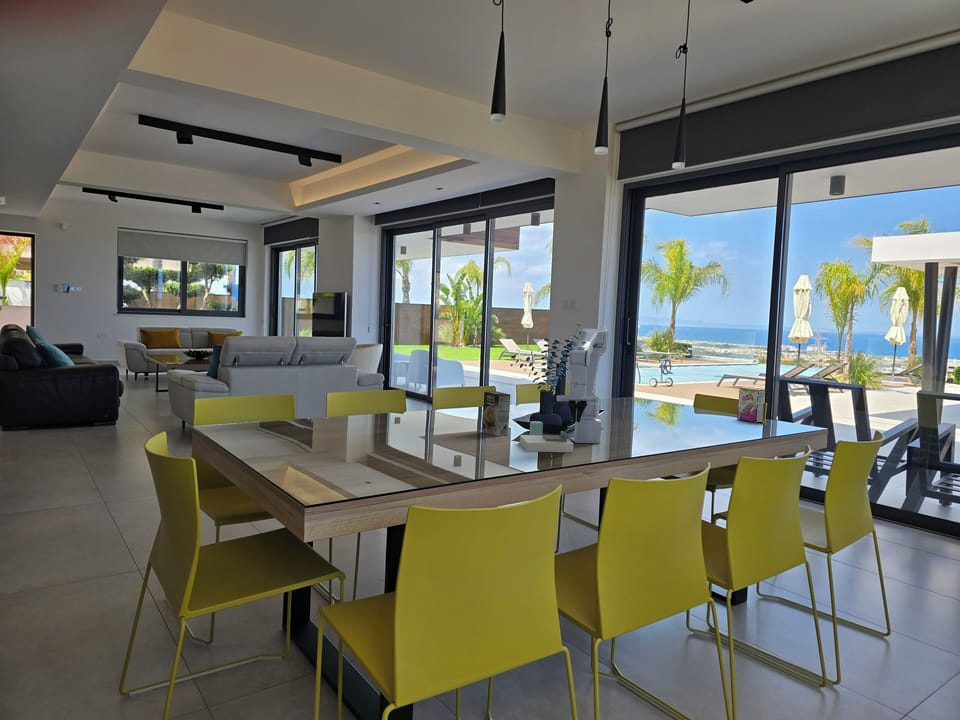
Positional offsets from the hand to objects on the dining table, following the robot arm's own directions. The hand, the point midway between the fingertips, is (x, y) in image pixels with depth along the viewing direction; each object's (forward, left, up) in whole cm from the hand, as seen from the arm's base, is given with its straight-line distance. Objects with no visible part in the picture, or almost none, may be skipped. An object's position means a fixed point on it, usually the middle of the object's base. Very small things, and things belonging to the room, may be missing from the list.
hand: (576, 422), depth 222 cm
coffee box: (+25, -25, -10) cm, 37 cm away
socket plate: (+11, 0, -9) cm, 14 cm away
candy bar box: (-109, -75, -10) cm, 133 cm away
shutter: (+7, 0, -6) cm, 10 cm away
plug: (+11, -15, -9) cm, 21 cm away
